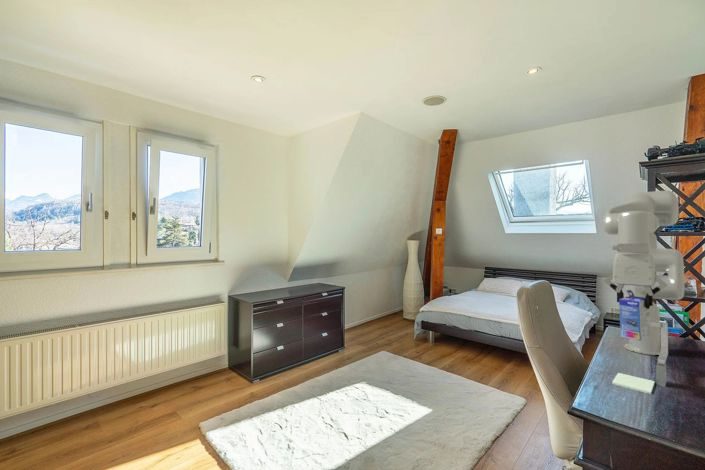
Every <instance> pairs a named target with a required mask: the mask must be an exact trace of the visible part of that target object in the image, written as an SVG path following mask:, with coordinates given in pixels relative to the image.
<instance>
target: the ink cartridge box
mask: <svg viewBox="0 0 705 470" xmlns="http://www.w3.org/2000/svg"><path fill="white" fill-rule="evenodd" d="M626 292H627V293H628V294H627V293H626V294H627V296H624V298H622V299H619V302H618V303H619V306H618V308H619V323H620V324H619V328H620V330H619V331H620V337H621V338H625V339H628V340H629V339H634V340H639V341H642V340H643V339H645V338H647V337H649V336H651V330H650V308H649V309H648V308H646V298H644V297H636V296H635V295H634V294H633V292H632V291H631V290H627V289H626ZM630 293H632V295H630ZM628 295H629V296H628Z"/></svg>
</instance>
